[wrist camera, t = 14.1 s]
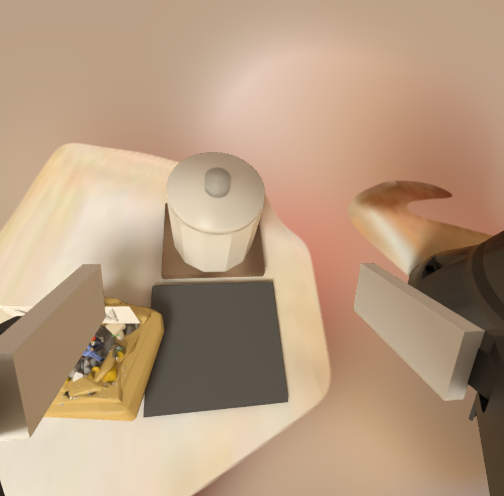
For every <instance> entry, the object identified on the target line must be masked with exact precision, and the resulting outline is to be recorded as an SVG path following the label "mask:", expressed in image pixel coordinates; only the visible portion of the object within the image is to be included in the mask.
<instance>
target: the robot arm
mask: <svg viewBox="0 0 504 496" xmlns="http://www.w3.org/2000/svg"><path fill="white" fill-rule="evenodd" d="M354 310H355V311H356V312H357V313H358V314H359V315H360V316H361V317H362V318H363V319H364V320H365V321H366V322H367V323H368V324H369V325H370V326H371V328H372V329H373V330H374V331H375V332H376V333H377V334H379V336H380V337H381V338H382V339H383V340H384V341H385V342H386V343H388V344H389V346H391V348H392V349H394V351H395V352H396V353H398V355H399V356H401V357H402V358H403V360H405V362H406V363H407V364H408V365H409V366H410V367H411V368H413V370H414V371H415V372H416V373H417V374H418V375H419V376H420V377H421V378H422V379H423V380H424V381H425V382H426V383H427V384H428V385H430V387H432V389H434V391H435V392H436V393H437V394H438V395H439V396H440V397H441V398H442V399H443V400H444V401H447V400H458V399H464V396H465V393H466V390H467V386H468V384H469V385H470V386H472V387H473V388H474V389H475V390H476V391H477V395H476V397H475V400H474V404H473V407H472V410H471V413H470V416H469V419H470V420H473V418H474V417H475V416H477V420H478V426H479V432H480V438H481V444H482V449H483V455H484V462H485V468H486V473H487V479H488V486H489V491H490V496H504V231H502V232H500V233H499V234H497V235H495V236H493V237H492V238H490V239H488V240H487V241H485V242H483V243H481V244H479V245H474V246H469V247H464V248H459V249H454V250H450V251H445V252H441V253H438V254H435V255H433V256H431V257H429V258H428V259H426V260H425V261H423V262H422V263H420V264H419V265H418V266H417V267H416V268H415V269H414V270H413V272H412V273H411V275H410V278H409V281H408V284H407V283H405V282H404V281H402V280H401V279H399V278H397V277H395V276H394V275H392V274H391V273H389V272H387V271H386V270H384V269H382V268H381V267H379V266H377V265H376V264H374V263H368V264H367V263H365V264H364V263H362V264H361V267H360V273H359V279H358V285H357V292H356V297H355V303H354ZM105 318H106V313H105V303H104V293H103V283H102V273H101V264H83V265H82V266H81V267H79V268H78V269H77V270H76V271H75V272H74V273H72V274H71V275H70V276H69V277H68V278H67V279H65V280H64V281H63V282H62V283H61V284H60V285H58V286H57V287H56V288H55V289H54V290H53V291H51V292H50V293H49V294H48V295H47V296H46V297H44V298H43V299H42V300H41V301H40V302H39V303H37V304H36V305H35V306H34V307H33V308H32V309H30V310H29V311H28V312H27V313H26V314H25V315H23V316H15V317H13V318H11V319H9V320H7V321H5V322H3V323H1V324H0V441H5V440H16V439H27V438H30V437H31V435H32V434H33V432H34V431H35V429H36V428H37V426H38V424H39V423H40V421H41V420H42V418H43V416H44V415H45V413H46V412H47V410H48V408H49V407H50V405H51V404H52V402H53V400H54V399H55V397H56V396H57V394H58V393H59V391H60V389H61V388H62V386H63V385H64V383H65V381H66V380H67V378H68V377H69V375H70V373H71V372H72V370H73V369H74V367H75V366H76V364H77V362H78V361H79V359H80V358H81V356H82V354H83V353H84V351H85V350H86V348H87V346H88V345H89V343H90V342H91V340H92V338H93V337H94V335H95V334H96V332H97V331H98V329H99V327H100V326H101V324H102V323H103V321H104V319H105ZM0 496H5V495H4V492H3V488H2V485H1V482H0Z"/></svg>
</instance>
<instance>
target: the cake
mask: <svg viewBox="0 0 504 496" xmlns="http://www.w3.org/2000/svg"><path fill="white" fill-rule="evenodd" d="M104 303H105V313H106V318H105V319H104V321H103V323H102V324H101V326H100V327H99V329H98V331H97V332H96V334H95V335H94V337H93V338H92V340H91V342H90V343H89V345H88V346H87V348H86V350H85V351H84V353H83V354H82V356H81V358H80V359H79V361H78V362H77V364H76V366H75V367H74V369H73V370H72V372H71V373H70V375H69V377H68V378H67V380H66V381H65V383H64V385H63V386H62V388H61V389H60V391H59V393H58V394H57V396H56V397H55V399H54V400H53V402H52V404H51V405H50V407H49V408H48V410H47V412H46V413H45V415H44V416H43V417H60V418H80V419H101V420H122V421H133V420H134V419H135V418H136V417H137V414H138V411H139V407H140V404H141V401H142V398H143V395H144V392H145V389H146V386H147V383H148V380H149V377H150V374H151V371H152V368H153V365H154V361H155V358H156V355H157V352H158V349H159V346H160V343H161V340H162V337H163V334H164V325H163V317H162V315H161V314H160V313H158V312H157V311H155V310H153V309H150V308H147V307H141V306H135V305H131V304H127V303H124V302H122V301H121V300H119V299H116V298H105V297H104ZM33 307H34V306H0V309H2V310H4V311H5V312H7V313H8V314H10V315H12V316H13V317H15V316H23V315H25V314H26V313H27V312H28V311H29V310H30V309H32V308H33Z"/></svg>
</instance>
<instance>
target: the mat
mask: <svg viewBox="0 0 504 496" xmlns="http://www.w3.org/2000/svg"><path fill="white" fill-rule="evenodd" d="M151 309H153V310H155V311H157V312H158V313H160V314H161V315H162V317H163V325H164V334H163V337H162V340H161V343H160V346H159V349H158V352H157V355H156V358H155V361H154V365H153V368H152V371H151V374H150V377H149V380H148V383H147V386H146V389H145V402H144V416H143V417H152V416H161V415H171V414H180V413H189V412H199V411H208V410H218V409H227V408H237V407H246V406H255V405H265V404H274V403H284V402H288V396H287V389H286V381H285V373H284V366H283V358H282V350H281V343H280V335H279V328H278V320H277V312H276V305H275V297H274V290H273V282H257V283H224V284H192V285H159V286H153V288H152V302H151Z"/></svg>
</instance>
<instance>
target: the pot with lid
mask: <svg viewBox="0 0 504 496" xmlns="http://www.w3.org/2000/svg"><path fill="white" fill-rule="evenodd" d="M167 195H168V201H167V204H168V210H169V216H170V222H171V228H172V234H173V240H174V246H175V248H176V249H177V251H178V253H179V254H180V256H181V257H182V259H183V260H184V262H185V263H187V264H189V265H191V266H193V267H195V268H197V269H199V270H201V271H203V272H224V271H227V270H229V269H231V268H232V267H234V266H236V265H238V264H239V263H241V262H243V260H244V259H245V257H246V255H247V253H248V251H249V249H250V247H251V246H252V242H253V239H254V236H255V233H256V230H257V226H258V223H259V220H260V217H261V214H262V211H263V207H264V198H265V189H264V184H263V182H262V179H261V177H260V176H259V174H258V173H257V171H256V170H255V169H254V168H253V167H252V166H251V165H249V164H248V163H247V162H245V161H244V160H242V159H240V158H238V157H235V156H233V155H229V154H225V153H218V152H208V153H200V154H196V155H193V156H191V157H188V158H186V159H185V160H183V161H182V162H180V163H179V164H178V165H177V166H176V167H175V168H174V169H173V171H172V172H171V174H170V176H169V179H168V182H167Z"/></svg>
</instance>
